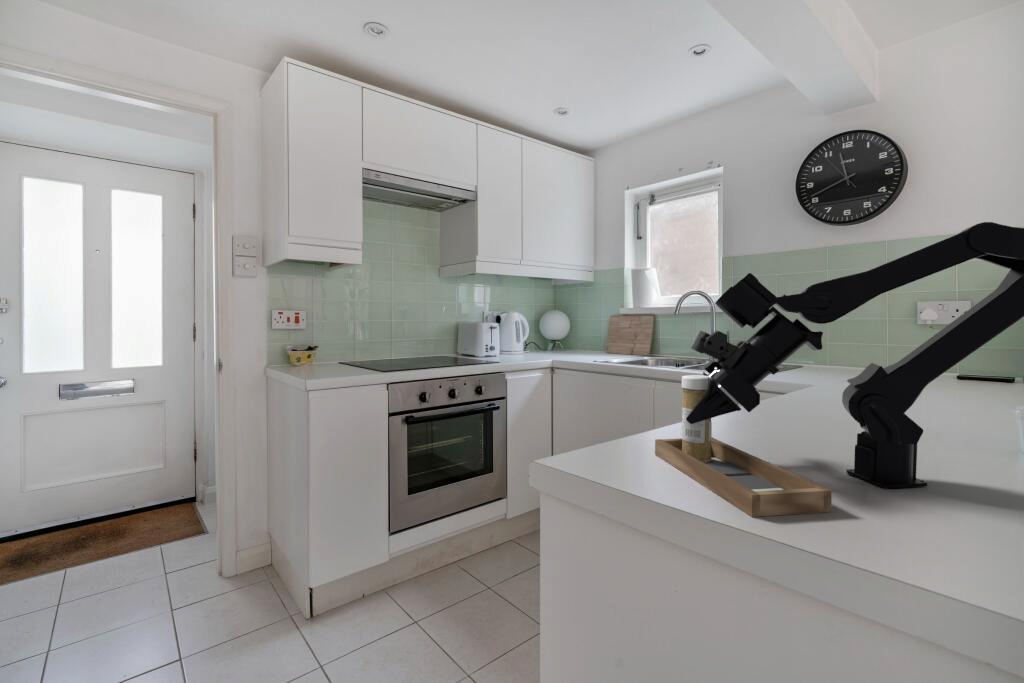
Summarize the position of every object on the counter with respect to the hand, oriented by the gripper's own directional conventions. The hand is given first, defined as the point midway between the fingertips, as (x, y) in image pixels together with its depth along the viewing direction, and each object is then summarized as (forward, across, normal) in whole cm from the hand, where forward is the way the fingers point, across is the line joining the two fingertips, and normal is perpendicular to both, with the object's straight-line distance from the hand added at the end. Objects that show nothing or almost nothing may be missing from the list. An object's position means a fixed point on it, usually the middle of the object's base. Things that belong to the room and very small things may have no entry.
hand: (687, 418), depth 75 cm
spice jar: (+4, 0, +6) cm, 7 cm away
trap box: (+1, +8, +8) cm, 11 cm away
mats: (+1, +8, +8) cm, 11 cm away
